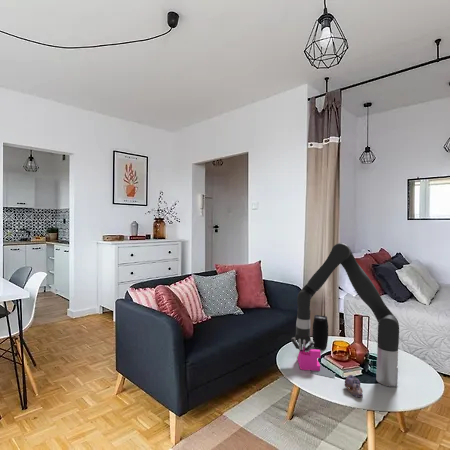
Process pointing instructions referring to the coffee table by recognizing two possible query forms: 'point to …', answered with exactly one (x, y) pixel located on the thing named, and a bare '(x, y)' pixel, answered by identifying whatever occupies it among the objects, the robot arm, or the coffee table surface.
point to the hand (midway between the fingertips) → (301, 356)
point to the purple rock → (353, 386)
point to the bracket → (309, 360)
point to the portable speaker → (320, 332)
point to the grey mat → (323, 372)
